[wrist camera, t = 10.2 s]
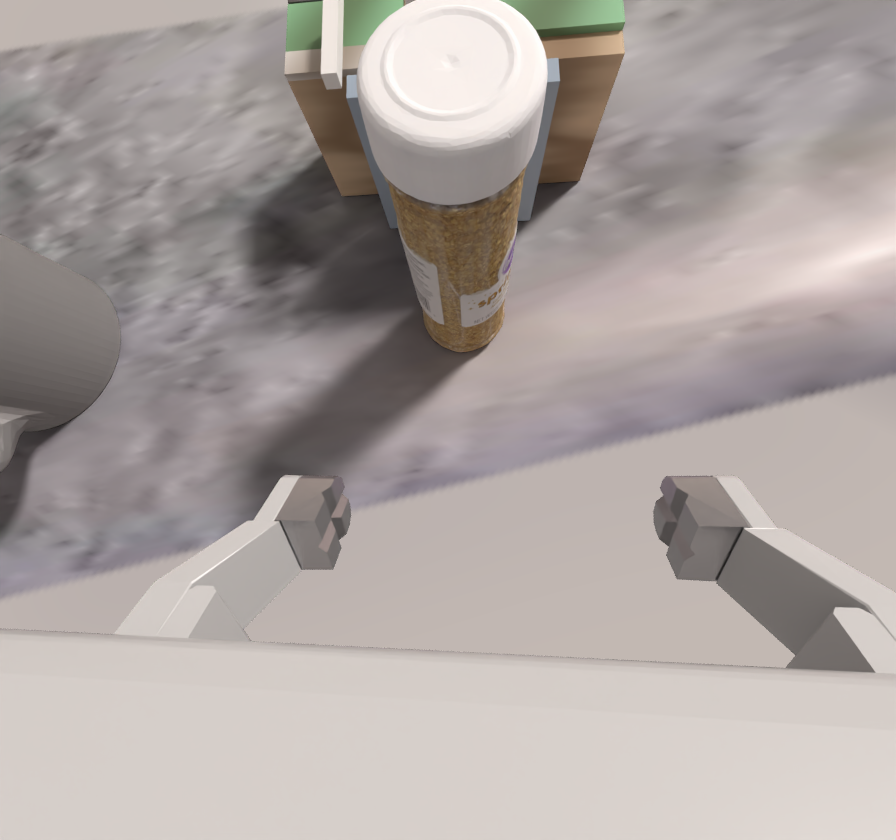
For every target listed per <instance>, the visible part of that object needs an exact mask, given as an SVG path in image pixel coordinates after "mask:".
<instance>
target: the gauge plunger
mask: <svg viewBox="0 0 896 840" xmlns="http://www.w3.org/2000/svg"><path fill="white" fill-rule="evenodd" d="M343 17H344V0H323V14H322V46H321V76H322V79H323V82H324V84H325V87H326V89H327V90H329V89H341V88H342V62H343ZM547 69H548V75H547V87H546V94H545V100H544V106H543V113H542V118H541V124H540V129H539V134H538V139H537V143H536V146H535V149H534V152H533V154H532V157H531V159H530V160H529V162H528V165H527V167H526V169H525V174H524V178H523V187H522V192H521V200H520V206H519V211H518V217H517V221H526V220H530V217H531V213H532V208H533V203H534V199H535V194H536V190H537V185H538V180H539V176H540V171H541V167H542V162H543V157H544V153H545V148H546V143H547V139H548V134H549V130H550V125H551V120H552V116H553V111H554V107H555V102H556V97H557V93H558V88H559V83H560V74H559V60H558V58H550V59H547ZM356 79H357V75H347V93H346V99H347V101H348V104H349V107H350V110H351V113H352V116H353V119H354V122H355V125H356V128H357V131H358V134H359V137H360V140H361V143H362V146H363V149H364V152H365V155H366V158H367V161H368V164H369V167H370V170H371V173H372V176H373V179H374V182H375V185H376V188H377V191H378V194H379V197H380V199H381V202H382V205H383V208H384V211H385V214H386V217H387V220H388V223H389V226H390V228H398V225H397V215H396V211H395V209H394V205H393V200H392V197H391V193H390V190H389V185H388V183H387V182H386V180H385V178H384V176H383V173H382V172H381V170H380V169H379V167H378V165H377V163H376V161H375V159H374V156H373V153H372V150H371V146H370V143H369V139H368V136H367V132H366V129H365V125H364V121H363V117H362V113H361V109H360V105H359V101H358V95H357V85H356Z"/></svg>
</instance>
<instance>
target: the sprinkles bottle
mask: <svg viewBox="0 0 896 840" xmlns="http://www.w3.org/2000/svg"><path fill="white" fill-rule="evenodd" d="M547 75H548V69H547V59H546V54H545V50H544V47H543V44H542V42H541V40H540V38H539V36H538V34H537V32H536V30H535V29H534V27H533V26H532V25H531V23H530V22H529V21H528V20H527V19H526V18H525V17H524V16H523V15H522V14H521V13H519V12H518V11H517V10H516V9H514V8H513V7H511V6H510V5H508V4H506V3H505V2H502V1H500V0H416V1H413V2H411V3H409V4H407V5H405V6H403V7H402V8H400V9H399V10H397V11H396V12H394V13H393V14H391V15H390V16H388V17H387V18H386V19H385V20H384V21H383V22H382V23H381V24H380V25H379V26H378V27H377V29H376V30H375V31H374V33H373V34H372V35H371V37H370V38H369V40H368V41H367V43H366V45H365V47H364V49H363V51H362V53H361V56H360V59H359V64H358V69H357V79H356V85H357V95H358V101H359V105H360V109H361V113H362V117H363V121H364V125H365V129H366V132H367V136H368V139H369V143H370V146H371V150H372V153H373V156H374V159H375V161H376V163H377V165H378V167H379V169H380V170H381V172H382V173H383V176H384V178H385V180H386V182H387V183H388V185H389V190H390V193H391V197H392V200H393V205H394V209H395V211H396V215H397V225H398V229H399V233H400V236H401V240H402V243H403V247H404V250H405V254H406V257H407V261H408V264H409V268H410V272H411V275H412V279H413V282H414V286H415V290H416V293H417V296H418V299H419V302H420V304H421V306H422V308H423V318H424V324H425V327H426V329H427V331H428V333H429V334H430V336H431V337H432V338H433V340H435V341H436V342H437V343H438V344H440V345H441V346H442V347H445V348H447V349H449V350H453V351H456V352H468V351H473V350H475V349H478V348H480V347H483V346H485V345H486V344H488V343H489V342H490V341H491V340H492V339H493V338H494V337H495V336H496V334H497V333H498V332H499V330H500V328H501V327H502V324H503V319H504V300H505V296H506V293H507V289H508V282H509V276H510V270H511V263H512V258H513V251H514V245H515V238H516V232H517V217H518V211H519V206H520V200H521V192H522V187H523V178H524V174H525V169H526V167H527V165H528V162H529V160H530V159H531V157H532V154H533V152H534V149H535V146H536V143H537V139H538V134H539V129H540V124H541V118H542V113H543V106H544V100H545V94H546V87H547Z"/></svg>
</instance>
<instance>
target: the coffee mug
mask: <svg viewBox="0 0 896 840" xmlns="http://www.w3.org/2000/svg"><path fill="white" fill-rule="evenodd" d="M120 342H121V334H120V325H119V320H118V317H117V313H116V310H115V308H114V306H113V304H112V302H111V301H110V299H109V298H108V296H107V295H106V293H105V292H104V291H103V290H102V289H101V288H100V287H99V286H97V285H96V284H95V283H93V282H92V281H90V280H89V279H87V278H85V277H83V276H81V275H79V274H77V273H75V272H73V271H71V270H69V269H68V268H66V267H64V266H62V265H60V264H58V263H56V262H54V261H52V260H50V259H48V258H46V257H44V256H42V255H40V254H38V253H36V252H34V251H33V250H31V249H29V248H27V247H25V246H23V245H21V244H19V243H17V242H15V241H13V240H11V239H9V238H7V237H5V236H3V235H1V234H0V472H1V471H3V470H4V469H5V468H6V467H7V466H8V464H9V462H10V461H11V459H12V457H13V454H14V452H15V449H16V446H17V443H18V440H19V437H20V435H21V434H22V432H31V431H40V430H46V429H50V428H53V427H56V426H59V425H61V424H63V423H66V422H67V421H69V420H71V419H72V418H74V417H76V416H78V415H79V414H80V413H82V412H83V411H84V410H86V409H87V408H88V407H89V406H90V405H91V404H92V403H93V402H94V401H95V400H96V398H97V397H98V396H99V395H100V394H101V392H102V391H103V390H104V388H105V386H106V385H107V383H108V382H109V380H110V378H111V376H112V374H113V371H114V369H115V366H116V363H117V360H118V356H119V351H120Z"/></svg>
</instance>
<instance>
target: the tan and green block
mask: <svg viewBox="0 0 896 840" xmlns="http://www.w3.org/2000/svg"><path fill="white" fill-rule="evenodd" d="M500 1H502V2H505V3H506V4H508V5H510V6H511V7H513V8H514V9H516V10H517V11H518V12H519V13H521V14H522V15H523V16H524V17H525V18H526V19H527V20H528V21H529V22H530V23H531V25H532V26H533V27H534V29H535V30H536V32H537V34H538V36H539V38H540V40H541V42H542V44H543V47H544V50H545V54H546V59H550V58H558V60H559V74H560V83H559V88H558V93H557V97H556V102H555V107H554V111H553V116H552V120H551V125H550V130H549V134H548V139H547V143H546V148H545V153H544V157H543V162H542V167H541V171H540V176H539V180H538V184H539V183H555V182H570V181H580V178H581V175H582V172H583V169H584V167H585V164H586V161H587V158H588V155H589V152H590V150H591V147H592V144H593V141H594V138H595V136H596V133H597V130H598V127H599V124H600V121H601V119H602V116H603V113H604V110H605V107H606V105H607V102H608V99H609V96H610V93H611V90H612V88H613V85H614V82H615V79H616V76H617V74H618V71H619V68H620V65H621V62H622V59H623V57H624V54H625V51H624V41H623V31H622V30H623V27H624V24H625V15H624V5H623V0H500ZM405 5H406V3H405V0H344V17H343V62H342V88H341V89H329V90H327V89H326V87H325V84H324V82H323V79H322V76H321V46H322V14H323V0H288V13H287V35H286V57H285V76H286V78H287V80H288V82H289V85H290V87H291V89H292V91H293V93H294V95H295V97H296V99H297V102H298V104H299V106H300V108H301V110H302V112H303V114H304V116H305V119H306V121H307V123H308V125H309V127H310V129H311V131H312V133H313V136H314V138H315V140H316V142H317V144H318V146H319V148H320V151H321V153H322V155H323V157H324V159H325V161H326V163H327V165H328V168H329V170H330V172H331V174H332V176H333V178H334V180H335V182H336V185H337V187H338V189H339V191H340V193H341V195H342V196H353V195H369V194H378V191H377V188H376V185H375V182H374V179H373V176H372V173H371V170H370V167H369V164H368V161H367V158H366V155H365V152H364V149H363V146H362V143H361V140H360V137H359V134H358V131H357V128H356V125H355V122H354V119H353V116H352V113H351V110H350V107H349V104H348V101H347V99H346V93H347V75H357V69H358V64H359V59H360V56H361V53H362V51H363V49H364V47H365V45H366V43H367V41H368V40H369V38H370V37H371V35H372V34H373V33H374V31H375V30H376V29H377V27H378V26H379V25H380V24H381V23H382V22H383V21H384V20H385V19H386V18H387V17H388V16H390V15H391V14H393V13H394V12H396V11H397V10H399V9H400V8H402V7H403V6H405Z"/></svg>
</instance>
